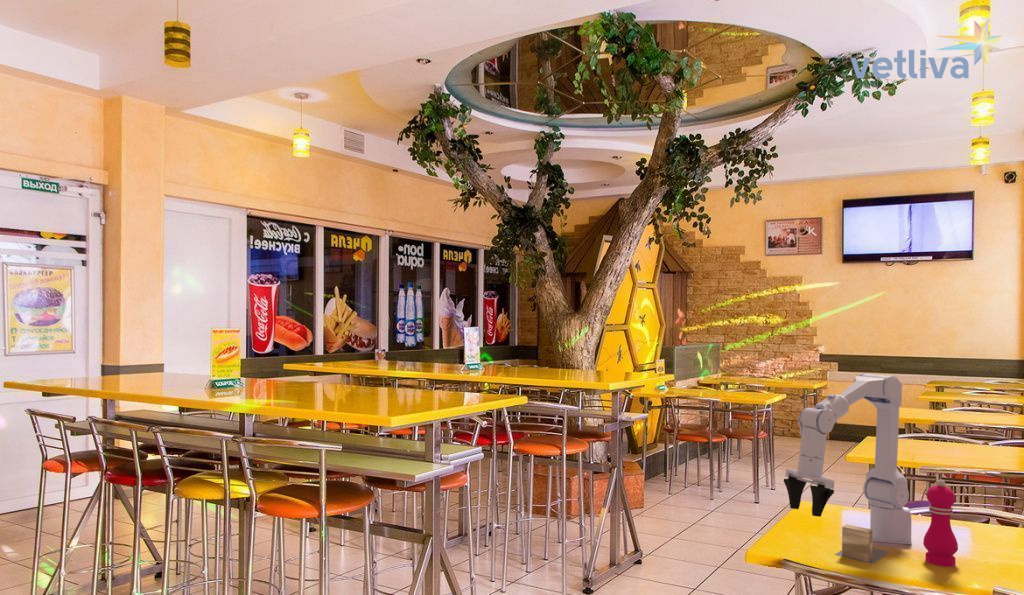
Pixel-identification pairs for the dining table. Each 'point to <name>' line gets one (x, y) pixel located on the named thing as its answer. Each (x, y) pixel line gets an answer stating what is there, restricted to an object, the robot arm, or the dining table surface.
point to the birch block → (857, 542)
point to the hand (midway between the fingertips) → (805, 512)
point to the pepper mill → (940, 527)
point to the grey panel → (876, 555)
